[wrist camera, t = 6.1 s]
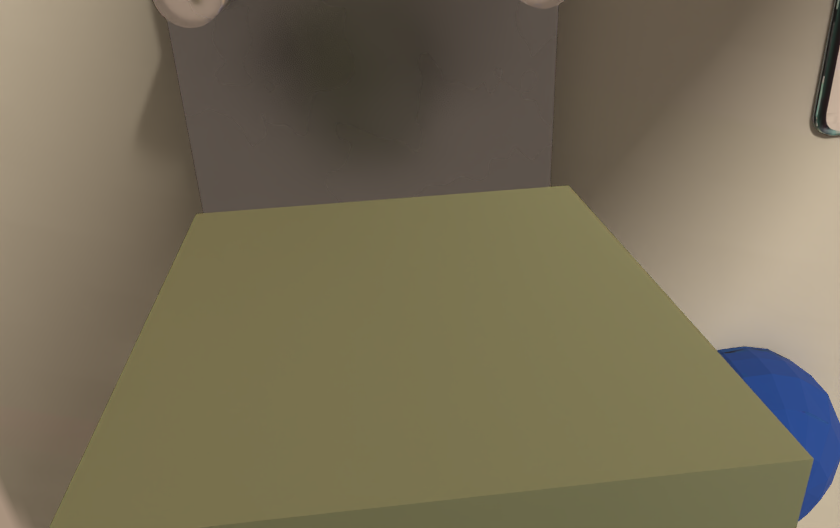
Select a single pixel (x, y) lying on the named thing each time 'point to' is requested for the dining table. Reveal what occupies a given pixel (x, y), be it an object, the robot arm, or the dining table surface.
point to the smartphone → (830, 81)
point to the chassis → (364, 97)
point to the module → (427, 382)
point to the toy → (794, 411)
